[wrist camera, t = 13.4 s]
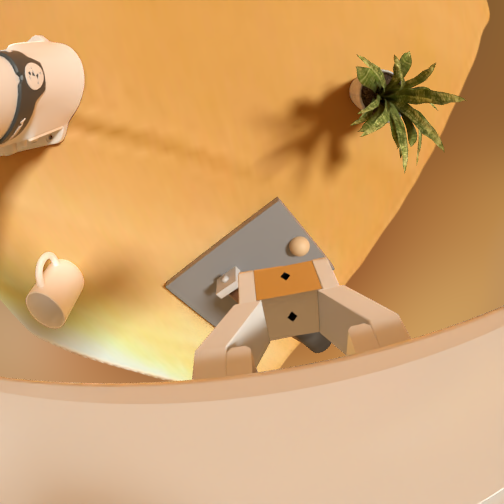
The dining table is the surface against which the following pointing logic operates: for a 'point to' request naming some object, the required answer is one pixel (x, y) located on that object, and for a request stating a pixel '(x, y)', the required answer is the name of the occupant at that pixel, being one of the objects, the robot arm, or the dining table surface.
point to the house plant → (396, 102)
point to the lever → (310, 340)
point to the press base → (242, 259)
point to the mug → (54, 290)
